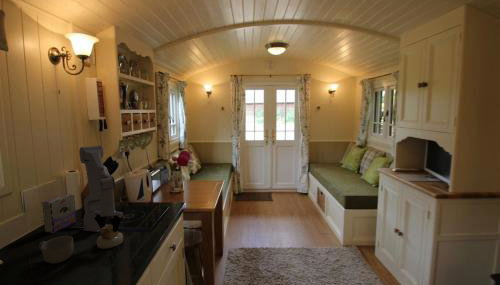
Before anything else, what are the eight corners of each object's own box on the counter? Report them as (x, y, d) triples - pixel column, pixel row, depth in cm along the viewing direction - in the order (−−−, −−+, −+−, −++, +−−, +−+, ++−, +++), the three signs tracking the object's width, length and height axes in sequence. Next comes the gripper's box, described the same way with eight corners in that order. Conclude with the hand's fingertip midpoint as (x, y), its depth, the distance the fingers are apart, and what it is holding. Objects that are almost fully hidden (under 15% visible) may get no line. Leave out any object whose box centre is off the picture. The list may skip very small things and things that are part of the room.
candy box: (69, 221, 151) (66, 193, 149) (77, 222, 149) (74, 194, 147) (44, 232, 137) (41, 201, 135) (53, 233, 136) (50, 202, 134)
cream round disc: (91, 247, 122) (90, 241, 121) (108, 236, 132) (108, 231, 132) (112, 250, 119) (111, 244, 119) (128, 238, 130) (127, 233, 130)
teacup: (80, 255, 115) (79, 237, 114) (55, 269, 105) (53, 250, 104) (57, 250, 119) (56, 233, 118) (31, 263, 109) (29, 244, 108)
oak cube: (101, 238, 124) (100, 228, 123) (109, 234, 129) (108, 224, 128) (110, 239, 123) (110, 229, 122) (118, 235, 128) (117, 225, 127)
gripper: (87, 204, 121) (89, 233, 123) (114, 207, 118) (116, 236, 120) (99, 199, 128) (101, 226, 130) (125, 201, 125) (127, 229, 127)
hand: (109, 230), depth 125 cm, fingers open, 6 cm apart
